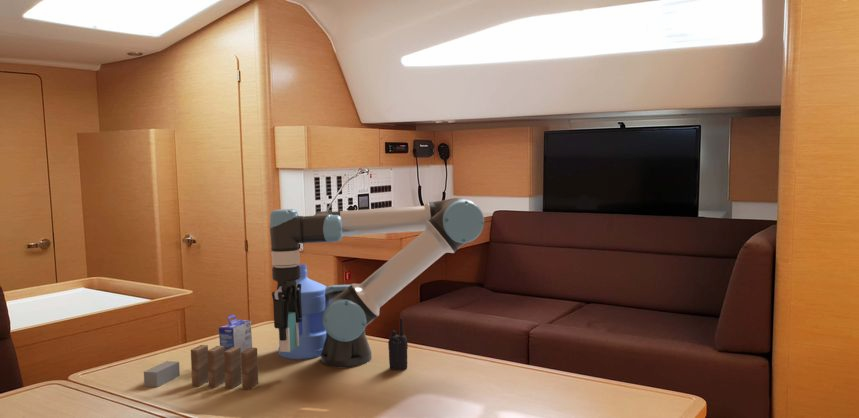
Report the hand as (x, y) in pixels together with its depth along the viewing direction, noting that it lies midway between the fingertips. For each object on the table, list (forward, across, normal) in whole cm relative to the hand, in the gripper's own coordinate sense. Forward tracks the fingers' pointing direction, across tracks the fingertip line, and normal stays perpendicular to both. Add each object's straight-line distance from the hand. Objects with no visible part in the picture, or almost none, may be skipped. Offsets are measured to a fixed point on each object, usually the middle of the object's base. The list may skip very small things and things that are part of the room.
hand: (289, 348), depth 183 cm
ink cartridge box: (+8, -10, -22) cm, 26 cm away
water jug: (+9, -23, -6) cm, 25 cm away
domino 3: (+8, +9, -12) cm, 17 cm away
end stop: (+8, +9, -34) cm, 36 cm away
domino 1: (+8, +9, -22) cm, 25 cm away
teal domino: (0, 0, 0) cm, 0 cm away
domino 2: (+8, +9, -17) cm, 21 cm away
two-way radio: (+9, -12, +28) cm, 31 cm away
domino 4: (+8, +9, -7) cm, 14 cm away
